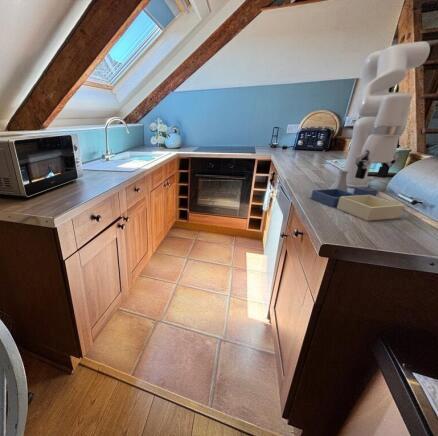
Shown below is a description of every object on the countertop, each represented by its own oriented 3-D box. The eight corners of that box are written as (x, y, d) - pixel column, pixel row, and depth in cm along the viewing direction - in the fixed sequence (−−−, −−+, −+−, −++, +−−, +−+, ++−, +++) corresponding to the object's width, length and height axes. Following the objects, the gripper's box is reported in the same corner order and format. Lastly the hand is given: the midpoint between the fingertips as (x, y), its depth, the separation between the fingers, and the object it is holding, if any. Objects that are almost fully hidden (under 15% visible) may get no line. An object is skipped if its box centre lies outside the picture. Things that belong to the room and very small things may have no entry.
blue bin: (334, 196, 104) (336, 188, 103) (358, 205, 94) (361, 196, 93) (310, 198, 103) (312, 190, 102) (332, 207, 93) (335, 198, 92)
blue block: (362, 198, 102) (365, 186, 100) (373, 202, 97) (378, 190, 95) (351, 199, 101) (355, 187, 99) (362, 202, 97) (366, 190, 95)
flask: (340, 190, 112) (347, 169, 108) (351, 195, 105) (358, 172, 102) (324, 190, 113) (329, 169, 109) (333, 195, 106) (340, 172, 102)
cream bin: (365, 206, 93) (369, 194, 91) (399, 218, 82) (404, 205, 80) (336, 208, 92) (340, 196, 90) (367, 220, 81) (372, 207, 79)
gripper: (395, 130, 93) (380, 175, 99) (355, 131, 91) (342, 176, 97) (417, 131, 86) (400, 179, 92) (374, 132, 84) (359, 180, 91)
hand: (370, 177), depth 95 cm, fingers open, 9 cm apart
